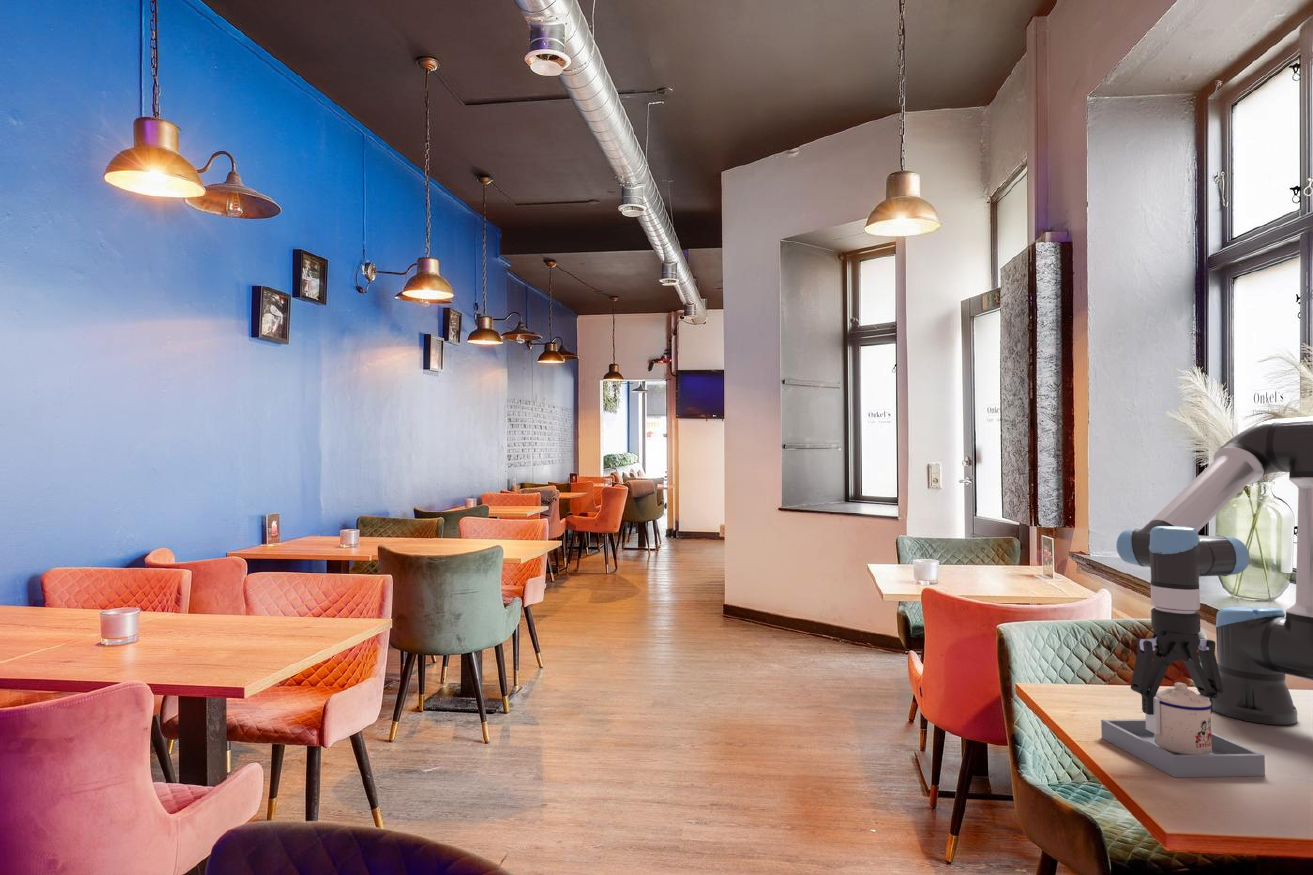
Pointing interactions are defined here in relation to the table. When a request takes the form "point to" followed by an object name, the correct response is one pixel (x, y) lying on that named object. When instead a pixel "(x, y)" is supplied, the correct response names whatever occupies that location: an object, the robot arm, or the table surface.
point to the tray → (1218, 763)
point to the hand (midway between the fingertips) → (1177, 731)
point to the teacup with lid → (1184, 721)
